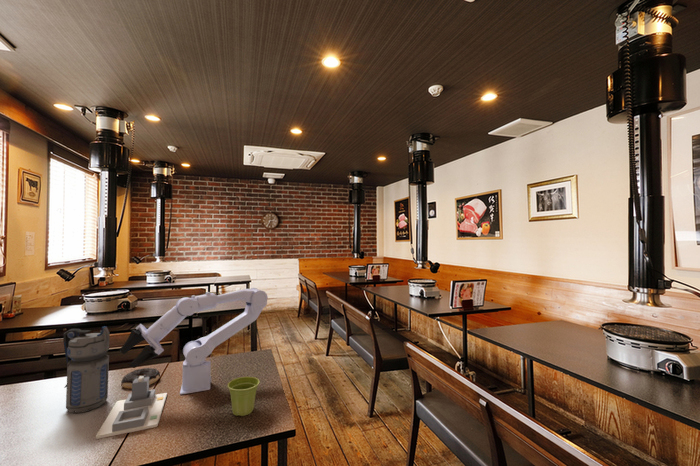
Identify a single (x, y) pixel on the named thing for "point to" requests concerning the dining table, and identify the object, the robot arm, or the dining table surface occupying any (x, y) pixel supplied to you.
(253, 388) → the plant pot
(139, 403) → the panel
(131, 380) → the donut
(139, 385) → the plug
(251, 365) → the dining table surface
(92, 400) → the beverage bottle
